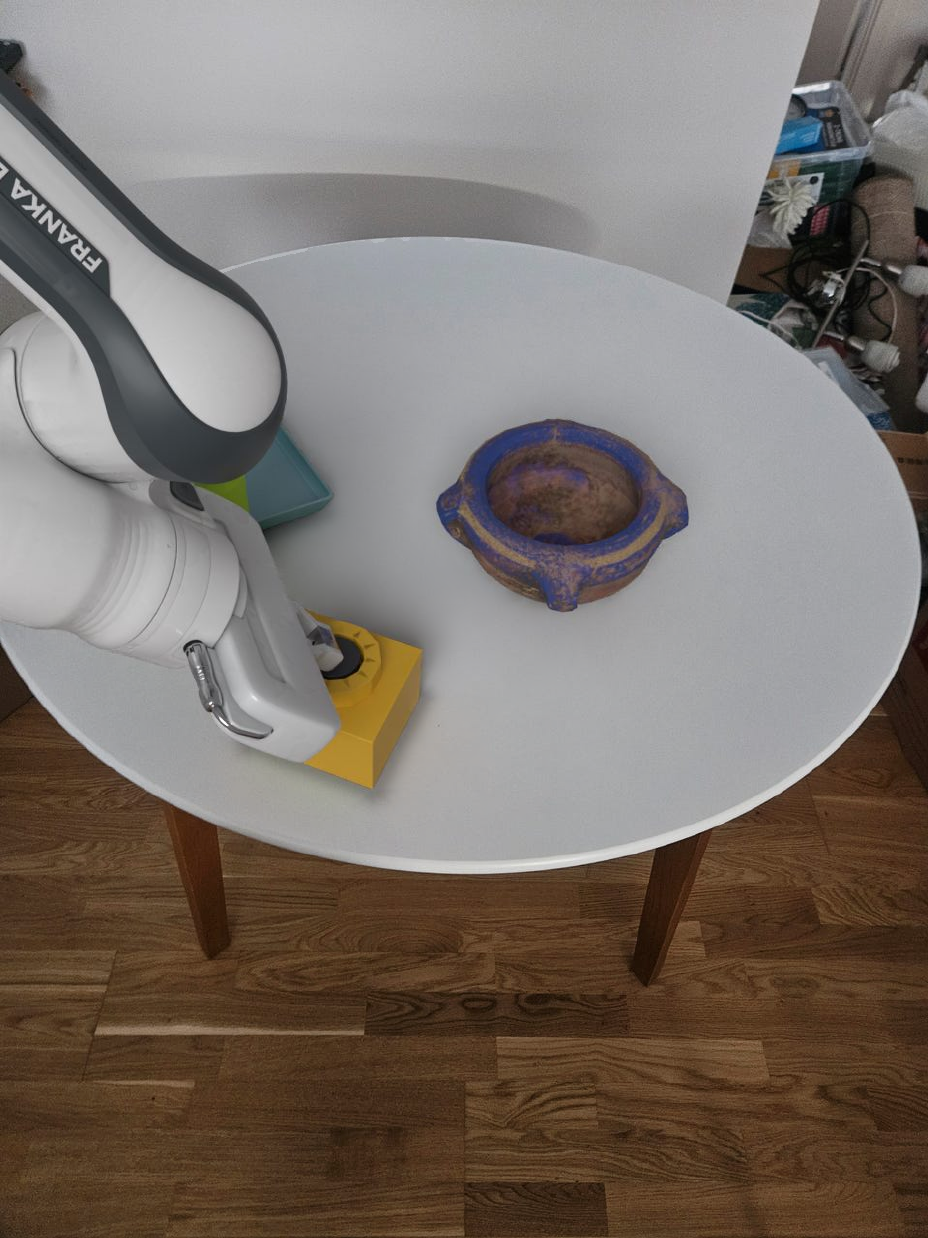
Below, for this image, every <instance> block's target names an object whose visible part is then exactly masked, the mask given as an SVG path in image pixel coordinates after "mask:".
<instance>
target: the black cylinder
mask: <svg viewBox="0 0 928 1238" xmlns="http://www.w3.org/2000/svg"><path fill="white" fill-rule="evenodd" d="M335 639H336V642H337V644H338V646H339V648H340V651H341V653H342V655H343V660H342V661H341V662H340V663H339V664H338V665H337V666H336V667H335V668H334V669H333V670H330V671H323V670H320V672H321V674H322V677H323V678H324V679H327V680H337V679H346V678H347V677H349V676H351V675H353V674H354V673H356V672H358V670H359V669H360V652H359V650H358V648H357V646H356V645H355V644H354V643H353V642H351V641H350V640H348V639H345V638H341V637H335Z"/></svg>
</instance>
